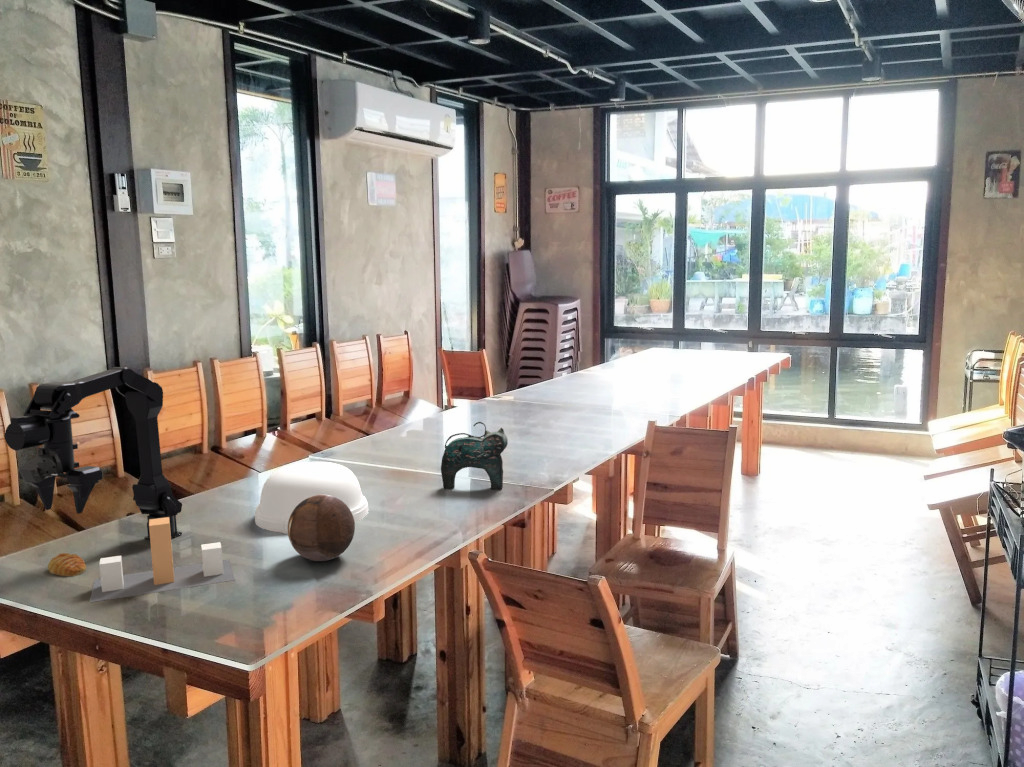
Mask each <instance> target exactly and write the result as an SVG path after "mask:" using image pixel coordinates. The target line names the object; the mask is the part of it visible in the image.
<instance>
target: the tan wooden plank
mask: <svg viewBox="0 0 1024 767" xmlns="http://www.w3.org/2000/svg"><path fill="white" fill-rule="evenodd" d="M149 531H150V540H149V541H150V542H149V543H150V551H151V554H150V555H151V562H152V563H151V564H152V571H153V578H154V585H158V584H164V583H171V582H174V569H173V568H174V561H173V559H174V558H173V547H172V538H171V533H170V521H169V517H165V518H157V519H149Z"/></svg>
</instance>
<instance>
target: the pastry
mask: <svg viewBox="0 0 1024 767" xmlns="http://www.w3.org/2000/svg"><path fill="white" fill-rule="evenodd" d="M47 569H48V572H49V573H50V574H52V575H56V576H61V577H76V576H80V575H81V574H84V573H85V572H86V571H87V564H86V562H85V561H84V559H83V558H82V557H80V556H79V555H78V554H75V553H73V554H70V553H66V552H64V553H63V552H62V553H59V554H57V555H55V556H53V557H52V558H51V559H50V561H49V563H48V564H47Z"/></svg>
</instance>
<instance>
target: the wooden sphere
mask: <svg viewBox="0 0 1024 767" xmlns="http://www.w3.org/2000/svg"><path fill="white" fill-rule="evenodd" d="M355 530H356V523H355V522H354V518H353V515H352V512H351V511H350V509H349V508H348V506H347V505H346V504H345V503H344V502H343V501H341V500H340V499H338V498H336V497H333V496H330V495H315V496H311V497H309V498H307V499H305V500H303V501H302V502H301V503H299V504H298V505H297V506H296V507H295V509H294V510H293V512H292V513H291V516H290V518H289V522H288V534H287V536H288V539H289V542H290V545H291V546H292V547H293V549H294V550H295V551H296V553H298V554H299V555H300V556H301V557H303V558H305V559H307V560H309V561H313V562H326V561H330V560H334V559H335V558H337V557H339V556H341V555H342V554H343V553H344V552H345V551H346V550H348V548H349V546H350V545H351V543H352V541H353V539H354V536H355Z"/></svg>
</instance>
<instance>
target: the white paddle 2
mask: <svg viewBox="0 0 1024 767" xmlns="http://www.w3.org/2000/svg"><path fill="white" fill-rule="evenodd" d="M200 546H201V559H202V560H201V561H202V563H203V573H204V577H206V576H212V575H219V574H223V551H222V550H223V548H222V544H221V541H218V542H212V543H205V544H204V543H203V544H200Z"/></svg>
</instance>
